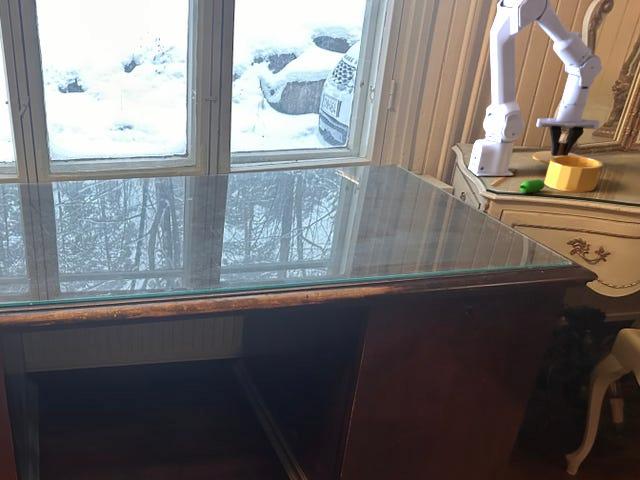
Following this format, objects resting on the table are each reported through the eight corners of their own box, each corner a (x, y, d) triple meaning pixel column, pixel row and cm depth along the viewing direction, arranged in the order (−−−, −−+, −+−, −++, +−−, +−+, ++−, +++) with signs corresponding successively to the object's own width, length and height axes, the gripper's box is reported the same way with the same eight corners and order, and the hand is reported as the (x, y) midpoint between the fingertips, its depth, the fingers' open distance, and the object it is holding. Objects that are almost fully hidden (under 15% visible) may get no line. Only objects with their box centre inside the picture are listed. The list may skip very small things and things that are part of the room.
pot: (556, 192, 170) (563, 168, 167) (536, 178, 180) (542, 155, 176) (604, 191, 169) (611, 167, 166) (581, 178, 179) (588, 155, 176)
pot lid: (543, 167, 181) (548, 148, 178) (524, 155, 192) (529, 136, 189) (592, 167, 180) (598, 147, 177) (570, 154, 191) (575, 136, 188)
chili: (519, 196, 169) (525, 186, 166) (511, 190, 170) (517, 179, 168) (544, 192, 171) (550, 182, 168) (536, 186, 173) (542, 176, 170)
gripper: (545, 105, 177) (531, 157, 184) (608, 107, 173) (591, 160, 180) (541, 99, 182) (528, 150, 189) (601, 101, 178) (586, 153, 185)
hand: (558, 155), depth 185 cm, fingers closed on pot lid, 2 cm apart
